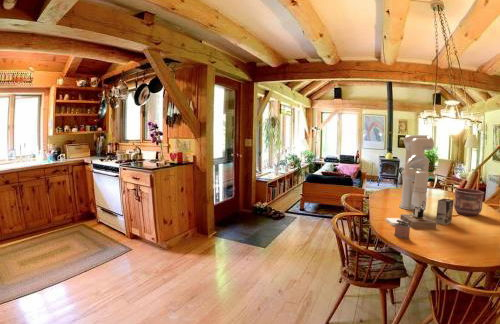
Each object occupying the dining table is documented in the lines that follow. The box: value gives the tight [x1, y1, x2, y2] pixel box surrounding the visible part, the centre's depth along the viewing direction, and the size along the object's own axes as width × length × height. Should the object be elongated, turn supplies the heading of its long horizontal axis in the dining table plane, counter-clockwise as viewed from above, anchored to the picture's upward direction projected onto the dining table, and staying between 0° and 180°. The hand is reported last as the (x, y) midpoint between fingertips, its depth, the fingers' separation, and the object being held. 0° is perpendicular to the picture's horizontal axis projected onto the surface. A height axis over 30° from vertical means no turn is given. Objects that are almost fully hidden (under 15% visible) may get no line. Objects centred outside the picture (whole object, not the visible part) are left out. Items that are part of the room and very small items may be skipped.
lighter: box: [394, 220, 411, 240], centre depth 162 cm, size 8×3×10 cm, turn 44°
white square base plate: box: [385, 217, 402, 227], centre depth 186 cm, size 10×9×2 cm
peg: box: [414, 207, 422, 219], centre depth 184 cm, size 4×4×10 cm
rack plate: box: [399, 213, 438, 229], centre depth 184 cm, size 16×15×4 cm
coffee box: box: [435, 198, 455, 226], centre depth 186 cm, size 9×6×16 cm
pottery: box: [453, 188, 485, 217], centre depth 207 cm, size 18×18×18 cm
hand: (418, 215), depth 184 cm, fingers open, 4 cm apart
